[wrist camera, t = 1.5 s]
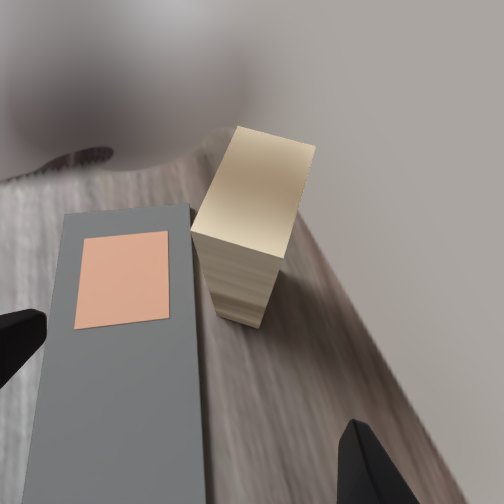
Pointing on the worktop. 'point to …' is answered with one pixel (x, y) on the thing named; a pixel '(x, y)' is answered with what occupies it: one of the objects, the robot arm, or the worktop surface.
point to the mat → (120, 365)
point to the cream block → (249, 221)
